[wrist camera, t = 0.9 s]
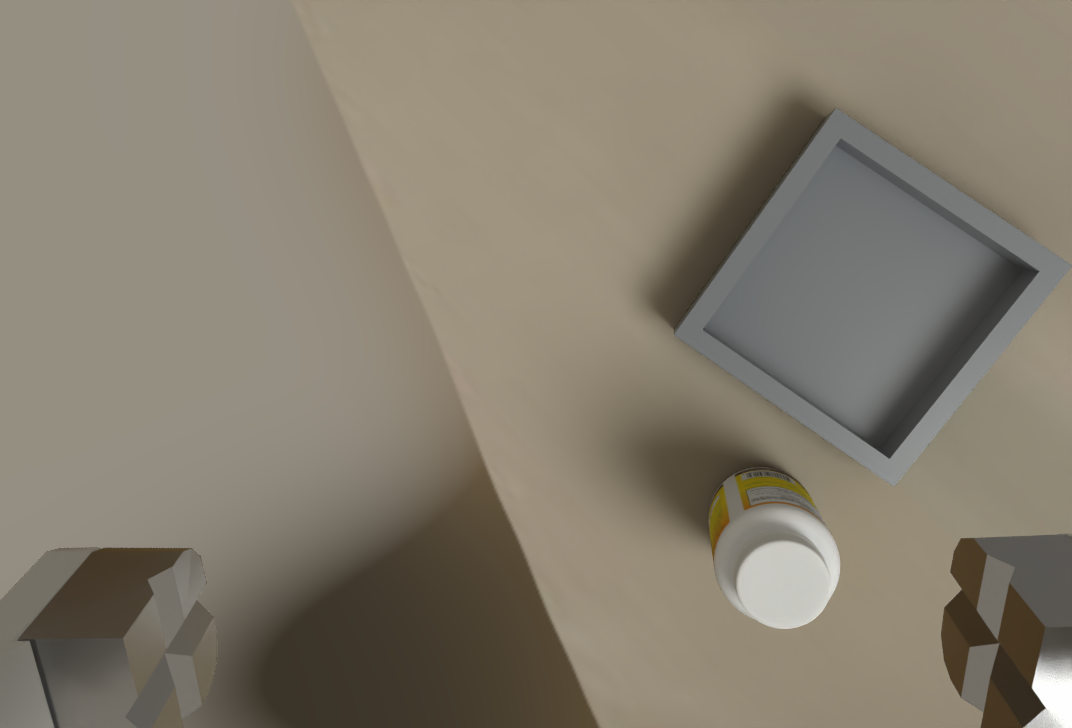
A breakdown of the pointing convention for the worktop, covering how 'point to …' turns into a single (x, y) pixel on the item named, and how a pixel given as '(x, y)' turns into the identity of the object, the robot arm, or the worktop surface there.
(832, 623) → the worktop surface
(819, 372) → the tray
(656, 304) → the worktop surface
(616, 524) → the worktop surface
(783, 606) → the supplement bottle
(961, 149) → the worktop surface
